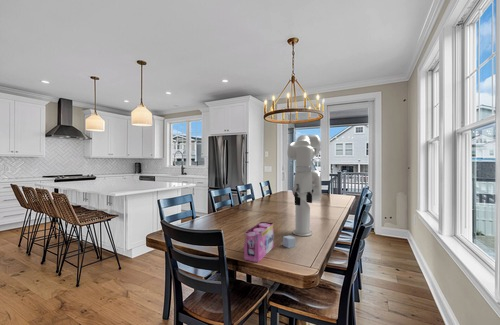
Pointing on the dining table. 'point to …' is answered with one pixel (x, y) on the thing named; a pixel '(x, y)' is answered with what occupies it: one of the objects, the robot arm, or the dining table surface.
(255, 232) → the gum box
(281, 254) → the dining table surface
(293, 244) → the slate cube
